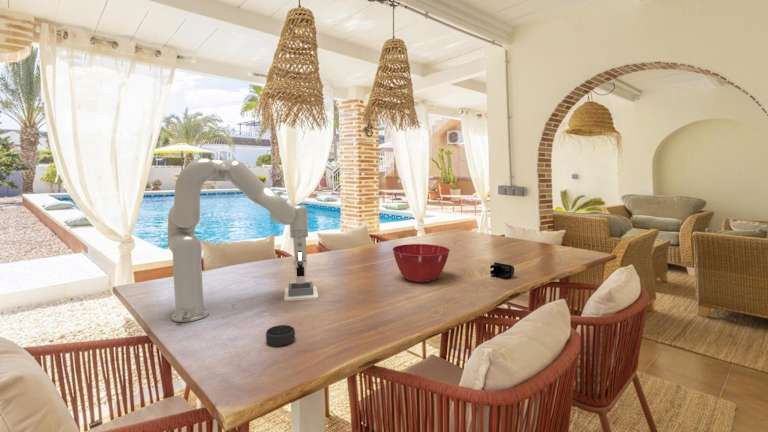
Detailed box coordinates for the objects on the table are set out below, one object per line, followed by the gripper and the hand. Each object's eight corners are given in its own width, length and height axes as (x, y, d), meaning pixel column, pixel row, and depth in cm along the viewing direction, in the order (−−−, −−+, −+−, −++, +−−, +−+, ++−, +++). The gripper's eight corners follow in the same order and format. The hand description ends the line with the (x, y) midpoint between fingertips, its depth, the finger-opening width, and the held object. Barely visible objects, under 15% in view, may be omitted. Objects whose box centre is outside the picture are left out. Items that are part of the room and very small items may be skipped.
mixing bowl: (460, 278, 203) (461, 248, 201) (426, 290, 182) (426, 257, 180) (416, 269, 222) (416, 241, 220) (380, 279, 201) (380, 249, 200)
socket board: (318, 298, 172) (317, 289, 171) (284, 301, 169) (283, 292, 168) (316, 288, 187) (316, 280, 187) (285, 290, 184) (284, 282, 184)
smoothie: (301, 285, 173) (300, 253, 171) (290, 283, 176) (289, 251, 175) (311, 281, 178) (310, 250, 177) (300, 279, 182) (299, 249, 180)
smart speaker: (297, 335, 133) (296, 324, 133) (292, 347, 124) (291, 334, 124) (270, 336, 133) (269, 324, 133) (263, 347, 124) (262, 335, 124)
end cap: (514, 277, 203) (514, 264, 203) (506, 280, 199) (507, 266, 198) (497, 274, 211) (497, 261, 210) (489, 276, 206) (489, 263, 205)
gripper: (308, 236, 167) (309, 278, 169) (307, 230, 184) (308, 269, 186) (289, 237, 166) (291, 279, 168) (290, 231, 183) (291, 270, 184)
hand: (300, 273), depth 177 cm, fingers closed on smoothie, 6 cm apart
